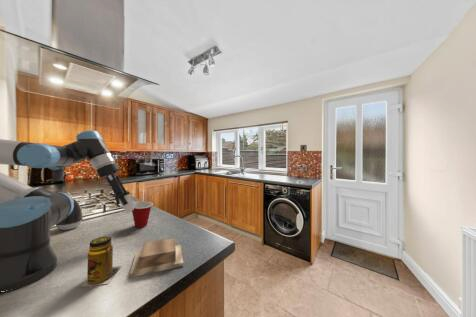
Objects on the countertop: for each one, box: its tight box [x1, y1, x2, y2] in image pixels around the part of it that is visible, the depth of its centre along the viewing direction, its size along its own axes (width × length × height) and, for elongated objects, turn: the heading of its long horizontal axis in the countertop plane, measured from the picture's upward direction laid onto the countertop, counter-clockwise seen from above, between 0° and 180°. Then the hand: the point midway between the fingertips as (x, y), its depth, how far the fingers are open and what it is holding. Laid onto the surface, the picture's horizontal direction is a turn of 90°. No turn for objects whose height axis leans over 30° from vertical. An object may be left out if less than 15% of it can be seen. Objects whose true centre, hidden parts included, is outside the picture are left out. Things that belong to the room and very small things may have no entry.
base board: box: [129, 237, 184, 278], centre depth 62 cm, size 16×13×5 cm
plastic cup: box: [131, 201, 154, 228], centre depth 93 cm, size 11×11×12 cm
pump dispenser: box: [55, 198, 84, 231], centre depth 88 cm, size 10×10×15 cm
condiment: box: [79, 235, 122, 288], centre depth 53 cm, size 7×8×12 cm
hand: (131, 209), depth 73 cm, fingers open, 13 cm apart
